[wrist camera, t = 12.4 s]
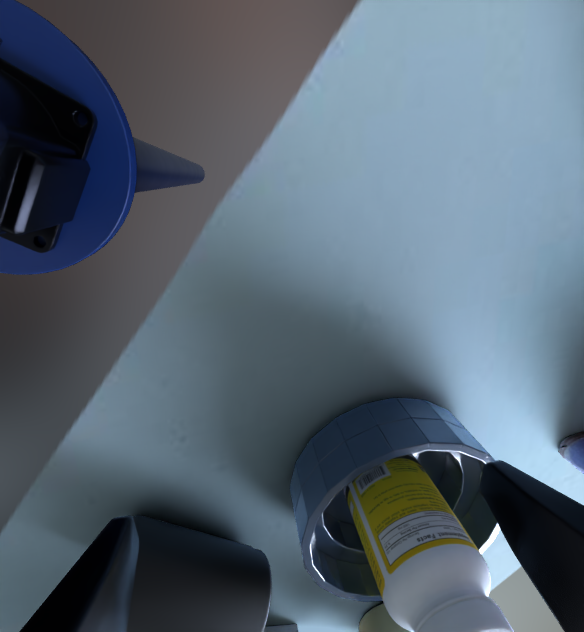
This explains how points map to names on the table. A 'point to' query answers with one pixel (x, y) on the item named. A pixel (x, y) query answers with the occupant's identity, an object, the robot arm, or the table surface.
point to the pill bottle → (421, 552)
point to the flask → (574, 450)
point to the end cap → (197, 582)
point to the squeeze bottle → (379, 621)
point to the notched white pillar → (282, 628)
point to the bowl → (371, 451)
